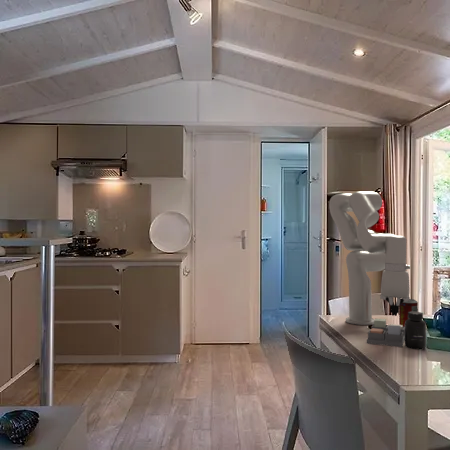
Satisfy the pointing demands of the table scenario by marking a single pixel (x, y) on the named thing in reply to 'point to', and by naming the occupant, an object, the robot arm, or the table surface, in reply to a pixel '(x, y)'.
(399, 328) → the slate key
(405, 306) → the soda can
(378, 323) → the sage key
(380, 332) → the terracotta key
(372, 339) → the keypad
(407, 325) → the supplement bottle
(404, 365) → the table surface
